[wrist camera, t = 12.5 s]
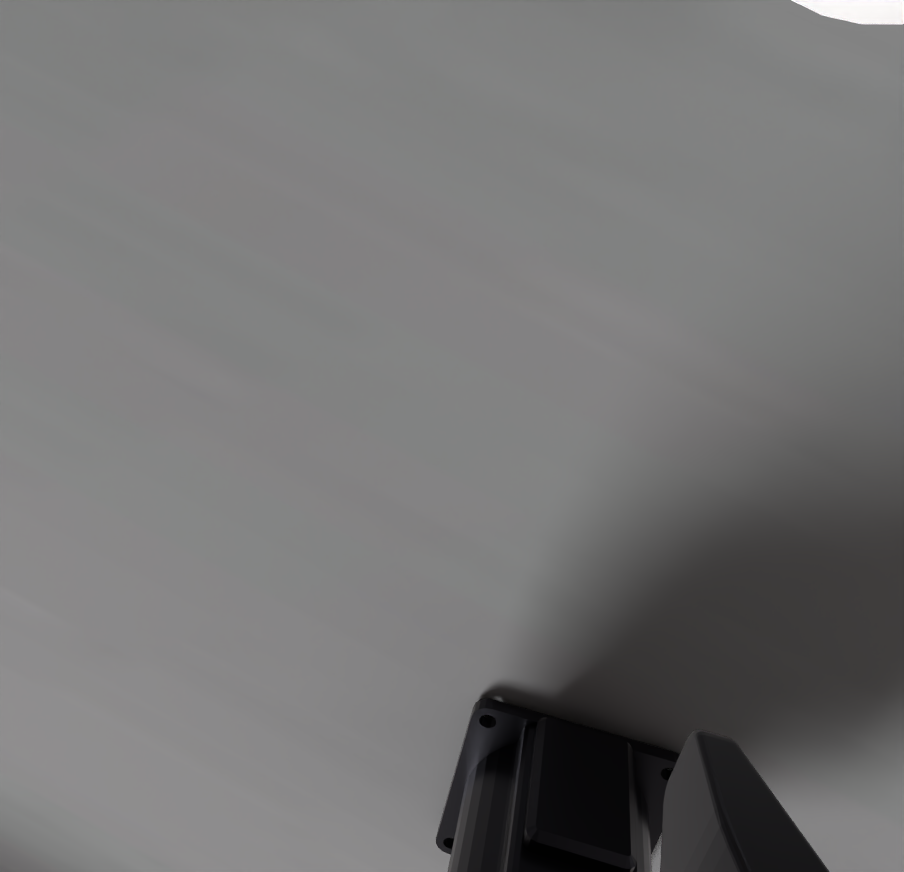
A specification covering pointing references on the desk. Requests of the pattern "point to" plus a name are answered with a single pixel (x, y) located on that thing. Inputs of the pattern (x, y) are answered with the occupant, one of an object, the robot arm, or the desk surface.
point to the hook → (859, 10)
